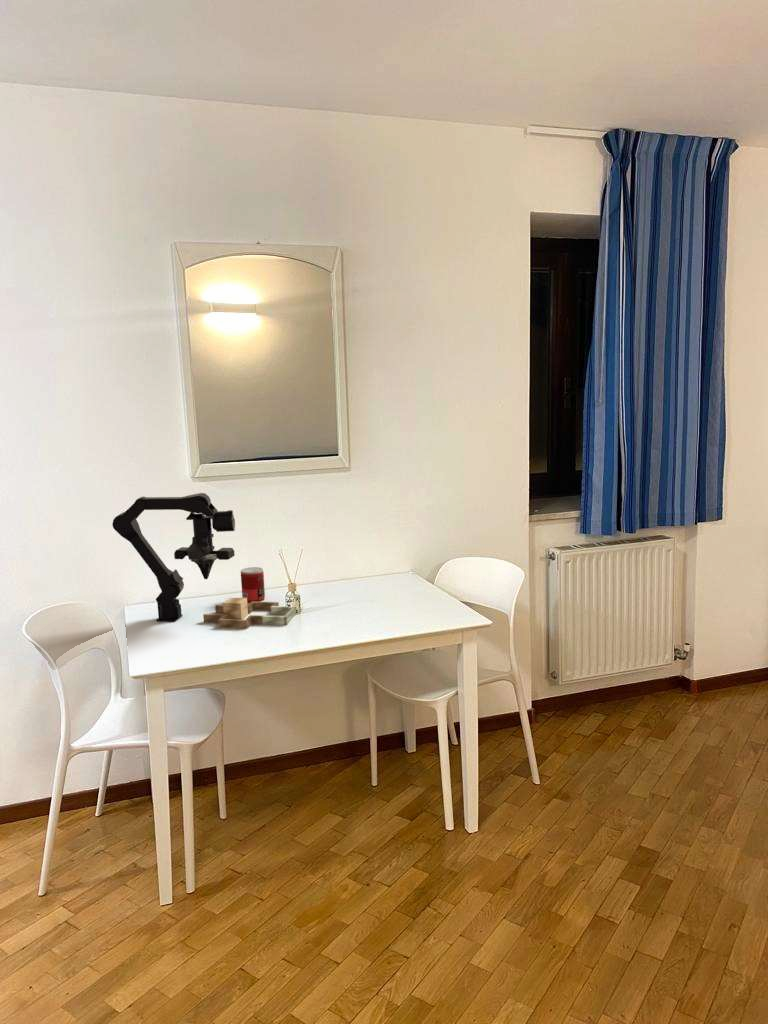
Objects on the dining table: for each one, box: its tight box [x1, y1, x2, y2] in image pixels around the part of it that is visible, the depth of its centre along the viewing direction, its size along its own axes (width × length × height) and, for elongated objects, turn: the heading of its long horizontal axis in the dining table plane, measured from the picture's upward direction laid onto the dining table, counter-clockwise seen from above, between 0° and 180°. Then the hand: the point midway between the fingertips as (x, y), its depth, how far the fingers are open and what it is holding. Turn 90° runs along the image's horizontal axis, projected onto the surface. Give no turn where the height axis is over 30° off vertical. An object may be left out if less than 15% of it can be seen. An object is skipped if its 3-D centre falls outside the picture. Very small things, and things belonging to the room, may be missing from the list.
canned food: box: [240, 566, 266, 604], centre depth 268 cm, size 8×8×11 cm
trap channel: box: [203, 601, 298, 629], centre depth 249 cm, size 28×20×2 cm
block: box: [222, 597, 249, 620], centre depth 249 cm, size 6×6×6 cm
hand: (206, 578), depth 249 cm, fingers closed
